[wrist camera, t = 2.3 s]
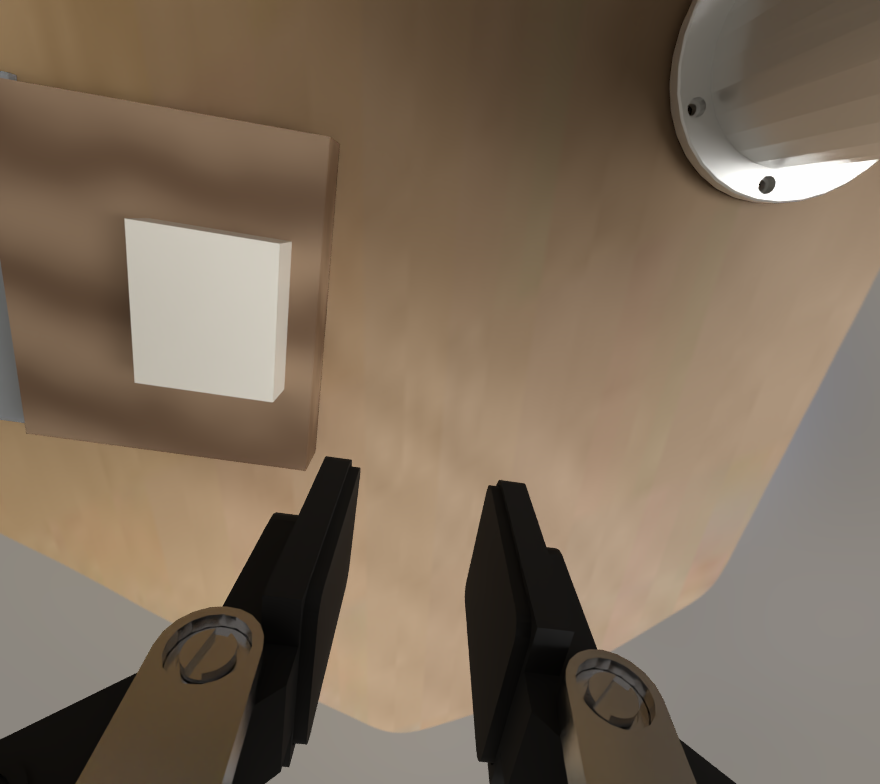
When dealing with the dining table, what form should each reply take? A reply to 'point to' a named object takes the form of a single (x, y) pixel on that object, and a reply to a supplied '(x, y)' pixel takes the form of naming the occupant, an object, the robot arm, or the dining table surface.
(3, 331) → the mat
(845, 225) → the dining table surface
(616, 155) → the dining table surface
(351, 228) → the dining table surface
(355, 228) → the dining table surface
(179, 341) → the tile
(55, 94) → the board
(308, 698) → the robot arm
